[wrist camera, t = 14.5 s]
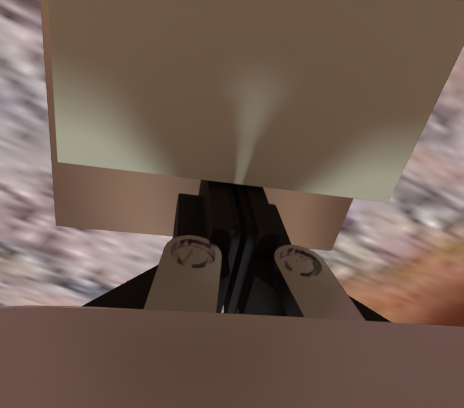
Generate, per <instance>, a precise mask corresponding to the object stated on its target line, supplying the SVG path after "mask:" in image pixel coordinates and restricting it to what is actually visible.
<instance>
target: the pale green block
mask: <svg viewBox="0 0 464 408" xmlns="http://www.w3.org/2000/svg"><path fill="white" fill-rule="evenodd" d="M48 10H49V27H50V44H51V60H52V77H53V93H54V110H55V127H56V143H57V160H58V162H61V163H69V164H77V165H86V166H94V167H102V168H110V169H118V170H127V171H135V172H143V173H151V174H159V175H168V176H176V177H184V178H192V179H200V180H208V181H217V182H225V183H233V184H241V185H249V186H258V187H266V188H274V189H282V190H290V191H299V192H307V193H315V194H323V195H331V196H339V197H348V198H356V199H364V200H372V201H380V202H388V201H389V199H390V197H391V195H392V193H393V191H394V189H395V187H396V185H397V183H398V181H399V178H400V176H401V174H402V172H403V170H404V168H405V166H406V164H407V162H408V160H409V158H410V156H411V154H412V152H413V149H414V147H415V145H416V143H417V141H418V139H419V137H420V135H421V133H422V131H423V129H424V127H425V125H426V123H427V120H428V118H429V116H430V114H431V112H432V110H433V108H434V106H435V104H436V102H437V100H438V98H439V96H440V94H441V91H442V89H443V87H444V85H445V83H446V81H447V79H448V77H449V75H450V73H451V71H452V69H453V67H454V65H455V62H456V60H457V58H458V56H459V54H460V52H461V50H462V48H463V46H464V0H48Z"/></svg>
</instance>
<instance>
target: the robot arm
mask: <svg viewBox="0 0 464 408" xmlns="http://www.w3.org/2000/svg"><path fill="white" fill-rule="evenodd" d="M222 307H224V313H221V311H222ZM0 408H464V327H458V326H442V325H426V324H409V323H393V322H390V321H389V320H387V319H386V318H384V317H382V316H381V315H379V314H377V313H376V312H374V311H373V310H371V309H369V308H368V307H366V306H365V305H363V304H361V303H360V302H358V301H357V300H355V299H353V298H352V297H350V296H348V295H347V293H346V292H345V290H344V289H343V287H342V286H341V284H340V283H339V282H338V280H337V279H336V277H335V276H334V274H333V273H332V271H331V270H330V268H329V267H328V266H327V264H326V263H325V261H324V260H323V259H322V258H321V257H320V256H319V255H318V254H316V253H315V252H313V251H311V250H309V249H307V248H305V247H301V246H298V245H292V244H291V242H290V239H289V237H288V234H287V232H286V229H285V227H284V224H283V222H282V219H281V217H280V214H279V212H278V209H277V207H276V205H275V204H269V202H268V200H267V197H266V194H265V191H264V189H263V187H258V186H249V185H241V184H233V183H225V182H217V181H208V180H201V182H200V188H199V193H198V195H191V194H182V193H179V194H178V199H177V206H176V213H175V221H174V231H173V239H172V240H170V241H169V242H168V243H167V244H166V246H165V247H164V250H163V253H162V256H161V259H160V262H159V265H157V266H155V267H153V268H151V269H150V270H148V271H146V272H144V273H142V274H140V275H139V276H137V277H135V278H133V279H131V280H129V281H127V282H126V283H124V284H122V285H120V286H118V287H116V288H115V289H113V290H111V291H109V292H107V293H105V294H104V295H102V296H100V297H98V298H96V299H94V300H92V301H91V302H89V303H87V304H85V305H83V306H82V307H78V306H6V307H0Z"/></svg>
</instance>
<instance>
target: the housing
mask: <svg viewBox="0 0 464 408" xmlns="http://www.w3.org/2000/svg"><path fill="white" fill-rule="evenodd" d="M40 3H41V17H42V32H43V46H44V60H45V75H46V89H47V103H48V118H49V132H50V146H51V161H52V175H53V190H54V204H55V218H56V226H64V227H75V228H87V229H98V230H109V231H120V232H131V233H142V234H153V235H164V236H173V231H174V221H175V213H176V206H177V199H178V194H179V193H182V194H191V195H198V193H199V188H200V182H201V180H200V179H192V178H184V177H176V176H168V175H159V174H151V173H143V172H135V171H127V170H118V169H110V168H102V167H94V166H86V165H77V164H69V163H61V162H58V160H57V143H56V127H55V110H54V93H53V77H52V60H51V44H50V27H49V10H48V0H40ZM263 189H264V191H265V194H266V197H267V200H268V202H269V204H275V205H276V207H277V209H278V212H279V214H280V217H281V219H282V222H283V224H284V227H285V229H286V232H287V234H288V237H289V239H290V242H291V244H292V245H298V246H301V247H305V248H308V249H319V250H330V251H331V250H332V248H333V245H334V243H335V240H336V238H337V236H338V233H339V231H340V229H341V226H342V224H343V222H344V219H345V217H346V214H347V212H348V210H349V207H350V205H351V203H352V200H353V198H348V197H339V196H331V195H323V194H315V193H307V192H299V191H290V190H282V189H274V188H266V187H263Z"/></svg>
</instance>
